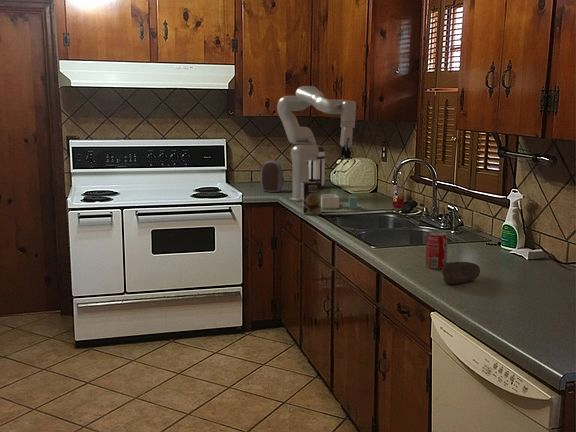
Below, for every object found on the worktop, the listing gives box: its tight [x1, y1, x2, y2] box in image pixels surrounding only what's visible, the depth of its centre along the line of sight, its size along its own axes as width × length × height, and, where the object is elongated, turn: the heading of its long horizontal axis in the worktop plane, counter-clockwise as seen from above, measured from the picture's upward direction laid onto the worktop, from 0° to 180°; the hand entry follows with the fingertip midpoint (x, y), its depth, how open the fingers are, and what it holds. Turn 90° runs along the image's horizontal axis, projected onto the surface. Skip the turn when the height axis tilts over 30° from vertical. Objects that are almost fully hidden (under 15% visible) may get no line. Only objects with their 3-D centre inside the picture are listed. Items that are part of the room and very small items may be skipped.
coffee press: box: [307, 141, 326, 190], centre depth 394 cm, size 17×16×30 cm
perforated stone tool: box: [442, 261, 481, 285], centre depth 192 cm, size 15×5×7 cm, turn 113°
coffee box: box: [299, 182, 322, 216], centre depth 307 cm, size 9×6×16 cm
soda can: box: [425, 231, 448, 270], centre depth 209 cm, size 7×7×12 cm
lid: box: [339, 196, 362, 209], centre depth 327 cm, size 15×10×6 cm, turn 5°
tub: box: [321, 193, 340, 210], centre depth 328 cm, size 12×9×6 cm
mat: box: [339, 202, 365, 210], centre depth 329 cm, size 18×12×1 cm, turn 5°
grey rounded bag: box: [260, 159, 285, 193], centre depth 379 cm, size 15×8×20 cm, turn 72°
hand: (345, 157), depth 323 cm, fingers open, 9 cm apart
